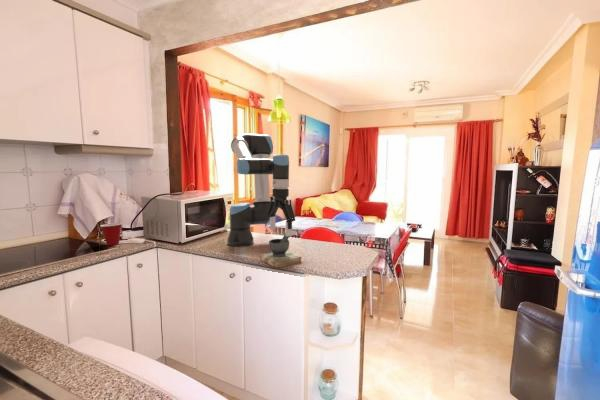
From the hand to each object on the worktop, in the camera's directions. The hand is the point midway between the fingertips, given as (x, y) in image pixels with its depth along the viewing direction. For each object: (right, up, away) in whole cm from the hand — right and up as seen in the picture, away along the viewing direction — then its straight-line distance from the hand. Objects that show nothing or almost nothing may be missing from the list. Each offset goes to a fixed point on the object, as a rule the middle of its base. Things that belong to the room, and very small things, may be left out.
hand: (280, 232), depth 139 cm
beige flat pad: (0, -14, +1) cm, 14 cm away
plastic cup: (-98, -10, +28) cm, 102 cm away
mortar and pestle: (0, -11, +1) cm, 11 cm away
